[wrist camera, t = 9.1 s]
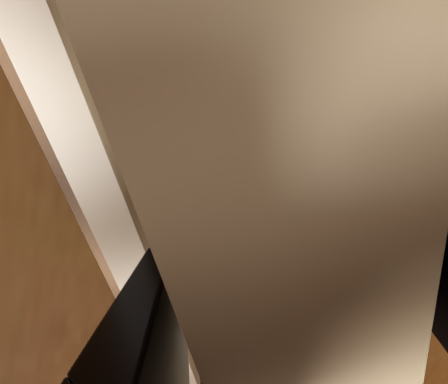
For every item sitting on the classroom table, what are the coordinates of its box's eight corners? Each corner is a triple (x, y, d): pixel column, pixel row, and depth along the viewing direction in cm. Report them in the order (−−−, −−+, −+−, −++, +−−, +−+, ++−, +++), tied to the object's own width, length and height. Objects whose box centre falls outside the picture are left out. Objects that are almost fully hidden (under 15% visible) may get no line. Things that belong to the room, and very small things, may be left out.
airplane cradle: (374, 300, 16) (453, 412, 12) (156, 361, 16) (158, 499, 12) (391, -252, 8) (688, -543, 3) (-86, -158, 7) (-427, -361, 3)
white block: (316, 293, 14) (409, 469, 9) (216, 321, 14) (254, 517, 9) (284, -85, 8) (517, -202, 3) (104, -46, 8) (17, -97, 3)
